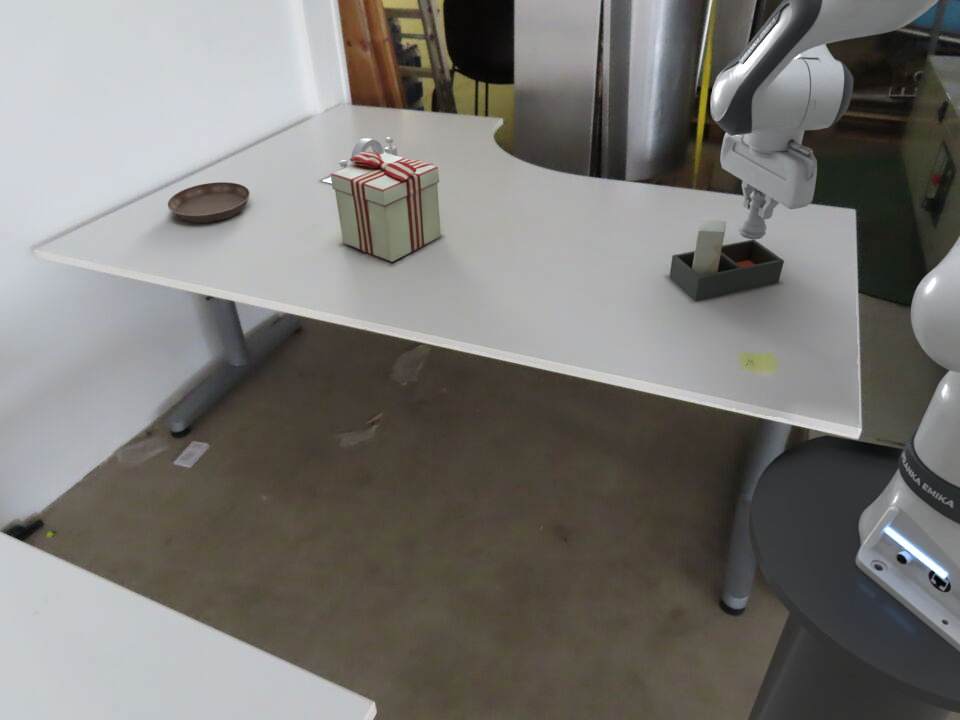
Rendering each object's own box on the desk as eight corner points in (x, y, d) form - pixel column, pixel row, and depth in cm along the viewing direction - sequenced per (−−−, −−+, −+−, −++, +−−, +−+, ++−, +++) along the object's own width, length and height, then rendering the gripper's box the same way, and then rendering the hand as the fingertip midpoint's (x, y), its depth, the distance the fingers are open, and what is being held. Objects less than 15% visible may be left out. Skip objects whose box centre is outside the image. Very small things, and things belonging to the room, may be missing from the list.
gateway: (346, 186, 166) (341, 153, 161) (339, 184, 167) (334, 152, 162) (397, 159, 179) (394, 128, 174) (390, 158, 180) (387, 127, 175)
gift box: (454, 229, 146) (449, 148, 136) (397, 266, 134) (387, 180, 124) (391, 211, 154) (382, 134, 144) (333, 245, 142) (318, 163, 132)
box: (713, 291, 122) (724, 233, 115) (688, 288, 123) (697, 230, 116) (716, 276, 125) (726, 219, 119) (691, 273, 127) (700, 217, 120)
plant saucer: (267, 207, 158) (264, 194, 156) (196, 234, 148) (191, 221, 146) (227, 188, 168) (223, 175, 167) (157, 212, 158) (153, 199, 156)
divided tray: (778, 283, 124) (784, 260, 121) (695, 300, 120) (698, 278, 118) (749, 260, 131) (753, 239, 128) (669, 277, 127) (672, 255, 124)
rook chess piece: (747, 226, 124) (756, 183, 119) (770, 234, 121) (780, 190, 116) (732, 234, 122) (741, 190, 117) (755, 242, 119) (765, 198, 114)
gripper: (836, 149, 103) (813, 234, 112) (752, 110, 119) (737, 187, 127) (800, 156, 102) (779, 241, 110) (720, 115, 118) (707, 193, 126)
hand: (756, 212), depth 119 cm, fingers closed on rook chess piece, 3 cm apart
